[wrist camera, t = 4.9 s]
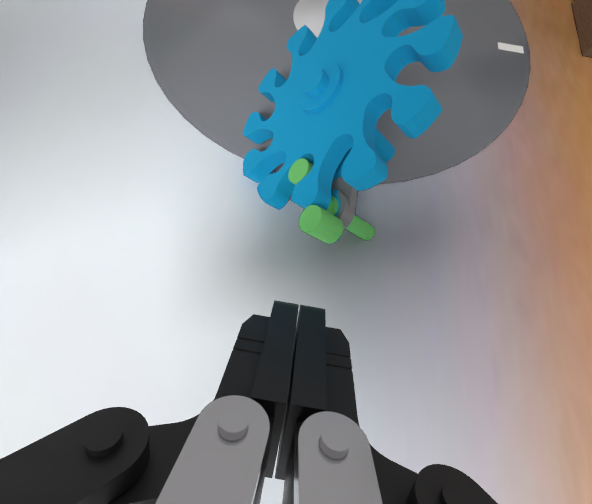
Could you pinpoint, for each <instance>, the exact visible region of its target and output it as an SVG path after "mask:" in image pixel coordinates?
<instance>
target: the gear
mask: <svg viewBox="0 0 592 504" xmlns="http://www.w3.org/2000/svg"><path fill="white" fill-rule="evenodd" d="M445 7H446V5H445V0H362V2H361V3H360V4H359V2H358V1H357V0H329V1H328V3H327V5H326V8H325V20H324V24H323V27H322V30H321V32H320V34H319V36H318V38H317V37H316V36H315V35H314V34H313V32H312V31H311V30H310V29H309V28H308V27H307V25H304V26H303V27H301V28H300V29H299V30H298V31H297V32H295V33H294V34H293V35H292V36H291V37H290V39H289V40H288V42H287V49H288V50H289V51H290V53H291V55H292V66H291V71H290V75H289V77H288V79H285V78H284V77H283V76H282V75H281V74H280V73H279V72H278V71H277V70H276V69H275V68H272V69H271V70H270V71H269V72H268V73H267V74H266V76H265V77H264V79H263V80H262V82H261V83H260V85H259V87H258V90H259V92H260V93H261V94H262V95H264V96H265V97H266V98H267V99H269V100H270V101H271V102H275V110H274V112H273V114H272V115H271V117H270V118H269V119H266V118H265V117H264V116H262V115H261V114H260V113H258V112H253V113H251V114H250V116H249V118H248V120H247V122H246V125H245V128H244V131H243V135H244V136H245V137H247V138H248V139H250V140H251V141H253V142H254V143H256V144H261V143H263V142H264V141H266V140H268V139H271V138H273V140H272V143H271V145H270V146H269V147H268V148H267V149H266V150H265V151H262V152H261V151H258V150H256V149H252V150H250V151H249V152H248V153H247V154H246V155H245V157H244V163H243V175H244V176H246V177H248V178H250V179H251V180H253V181H255V182H258V183H259V182H260V183H259V185H258V187H257V189H258V193H259V195H260V197H261V199H262V200H263V201H264V202H265V203H267V204H269V205H271V206H273V207H275V208H276V209H278V210H279V209H281V208H283V207H284V206H285V205H286V203H287V202H288V200H289V198H290V195H291V193H292V195H291V201H293V202H294V203H296V204H297V205H299V206H301V207H303V208H304V211H303V212H302V213H301V216H300V218H299V227H300V229H301V231H303V232H305V233H307V234H309V235H311V236H313V237H315V238H317V239H319V240H321V241H323V242H325V243H328V244H331V243H334V242H336V241H337V240H338V239H339V238H340V237H341V235H342V232H343V230H345V229H346V230H348V231H350V232H351V233H353V234H355V235H357V236H358V237H360V238H362V239H364V240H370V239H371V238H372V237H373V236H374V234H375V229H374V227H373V226H371V225H370V224H368V223H367V222H365V221H364V220H362V219H361V218H359V217H358V216H356V215H355V209H356V201H357V194H358V191H361V190H366V189H369V188H371V187H373V186H375V185H377V184H379V183H381V182H382V181H384V180H386V179H387V176H388V166H387V164H386V162H388V161H389V160H390V159H392V157H393V156H394V153H395V148H394V147H393V145H392V144H391V143H390V142H389V141H388V140H387V139H386V138H385V137H384V136H383V135H382V134H381V133H380V131H379V130H378V129H377V128H376V125H377V121H378V119H379V118H380V116H381V115H382V114H383V113H384V112H385V111H387V110H388V109H391V117H392V120H393V121H394V122H395V124H396V125H397V126H398V127H399V128H400V129H401V131H402V132H403V133H404V134H405V135H406V136H407V137H409V138H414V139H415V138H417V137H418V136H420V135H421V134H422V133H423V132H425V131H426V130H427V129H428V128H429V127H430V126H431V124H432V123H433V122H434V121H435V120H436V119H437V117H438V116H439V115H440V113H441V112H442V111H443V110H442V106H441V105H440V103H439V102H438V100H437V98H436V97H435V95H434V94H433V92H432V90H431V89H430V88H429V87H427V86H425V85H416V86H404V85H400V84H398V83H396V78H397V75H398V74H399V72H400V71H401V70H402V69H403V68H404V67H405V66H407V65H408V64H410V63H412V62H421V63H422V64H423V65H424V66H425V67H426V68H427V69H428V70H429V71H431V72H441V71H444V70H447V69H448V68H450V67H451V66H452V64H453V63H454V61H455V59H456V57H457V55H458V53H459V50H460V47H461V43H462V39H463V34H462V32H461V30H460V27H459V25H458V23H457V21H456V18H455V16H453V15H445V16H442V17H440V16H441V15H442V14H443V13H444V12H445ZM416 26H425V27H423V28H421V29H419V30H417V31H415V32H413V33H410V34H407V35H404V36H398V35H399V34H400V33H401V32H402V31H403V30H405V29H407V28H409V27H416ZM397 36H398V37H397ZM284 162H285V163H284ZM282 163H284V165H283V167H282V168H281V169H280V170H279V171H278V172H276V173H272V174H270V173H271V172H272V171H273V170H274V169H275V168H276V167H277V166H279V165H280V164H282ZM292 191H293V192H292Z"/></svg>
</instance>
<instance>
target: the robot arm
mask: <svg viewBox="0 0 592 504" xmlns="http://www.w3.org/2000/svg"><path fill="white" fill-rule="evenodd" d="M298 306H299V305H298V304H292V303H286V302H281V301H274V304H273V308H272V313H271V317H266V316H260V315H254V314H253V315H252V316H251V317H250V318H249V319H248V320H246V321H245V322H244V323H243V324H242V326H241V329H240V332H239V334H238V337H237V340H236V343H235V345H234V348H233V351H232V353H231V356H230V359H229V362H228V364H227V367H226V370H225V372H224V375H223V378H222V381H221V383H220V386H219V389H218V392H217V394H216V396H215V399H214V400H213V401H212V402H211V403H209V404H208V405H207V406H206V407H205V408H204V409H203V410H202V411H201V413H200V414H199V415H197V416H195V417H193V418H191V419H189V420H185V421H182V422H177V423H171V424H163V425H155V426H148V423H147V421H146V419H145V418H144V417H143V416H142V415H141V414H140V413H139V412H137V411H135V410H133V409H130V408H125V407H112V408H106V409H102V410H99V411H96V412H94V413H92V414H89V415H87V416H85V417H83V418H81V419H79V420H77V421H75V422H73V423H71V424H69V425H67V426H65V427H64V428H62V429H60V430H58V431H56V432H54V433H52V434H50V435H48V436H46V437H44V438H42V439H40V440H38V441H36V442H34V443H32V444H30V445H28V446H26V447H24V448H22V449H20V450H18V451H16V452H14V453H12V454H10V455H8V456H6V457H4V458H2V459H0V504H259V503H260V499H261V493H262V488H263V483H264V477H269V478H272V475H273V471H274V466H275V461H276V456H277V451H278V446H279V451H278V458H277V466H276V474H275V478H276V479H282V480H285V483H284V493H283V503H282V504H498V503H497V502H495V501H494V500H493V499H492V498H491V497H490V496H489V495H488V494H487V493H486V492H485V491H484V490H483V489H482V488H481V487H480V486H479V485H478V484H477V483H476V482H475V481H474V480H472V479H471V478H470V477H469V476H467V475H466V474H464V473H463V472H461V471H459V470H457V469H455V468H453V467H450V466H447V465H441V464H432V465H429V466H426V467H425V468H423V469H422V470H421V471H420V472H419V474H417V473H415V472H413V471H411V470H409V469H407V468H405V467H403V466H401V465H399V464H397V463H395V462H393V461H391V460H389V459H387V458H386V457H384V456H383V455H381V454H380V453H379V452H377V451H376V450H375V449H374V448H373V447H372V446H371V445H370V443H369V441H368V439H367V437H366V435H365V433H364V432H363V430H362V429H361V428H360V426H359V423H358V417H357V409H356V400H355V391H354V382H353V373H352V365H351V359H350V357H351V356H350V347H349V342H348V340H347V339H346V337H345V336H344V334H343V333H342V331H341V329H335V328H330V327H325V309H321V308H316V307H310V306H304V305H300V310H299V315H298ZM297 315H298V320H297ZM296 323H297V325H296ZM279 441H280V443H279Z"/></svg>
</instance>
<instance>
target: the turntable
mask: <svg viewBox="0 0 592 504" xmlns="http://www.w3.org/2000/svg"><path fill="white" fill-rule="evenodd" d="M328 1H329V0H148V1H147V3H146V9H145V14H144V20H143V40H144V45H145V50H146V54H147V59H148V62H149V64H150V67H151V69H152V71H153V74H154V76H155V79H156V81H157V82H158V84H159V86H160V87H161V89H162V90H163V92H164V94H165V95H166V97H167V98H168V100H169V101H170V102H171V103H172V104H173V106H174V107H175V108H176V109H177V110H178V111H179V112H180V114H181V115H182V116H183V117H184V118H185V119H186V120H187V121H188V122H190V123H191V124H192V125H193V126H194V127H195V128H196V129H198V130H199V131H200V132H201V133H202V134H203V135H205V136H206V137H208V138H209V139H211V140H212V141H214V142H215V143H217V144H218V145H220V146H222V147H223V148H225V149H226V150H228V151H230V152H232V153H234V154H236V155H238V156H240V157H242V158H244V157H245V155H246V154H247V153H248V152H249V151H250V150H252V149H256V150H258V151H261V152H262V151H265V150H266V149H267V148H268V147H269V146H270V145H271V143H272V140H273V138H271V139H268V140H266V141H264V142H263V143H261V144H256V143H254V142H253V141H251V140H250V139H248V138H247V137H245V136H244V135H243V131H244V128H245V125H246V122H247V120H248V118H249V116H250V114H251V113H253V112H258V113H260V114H261V115H262V116H264V117H265V118H266V119H269V118H270V117H271V115H272V114H273V112H274V110H275V102H271V101H270V100H269V99H267V98H266V97H265V96H264V95H262V94H261V93H260V92H259V90H258V87H259V85H260V83H261V82H262V80H263V79H264V77H265V76H266V74H267V73H268V72H269V71H270V70H271V69H272V68H275V69H276V70H277V71H278V72H279V73H280V74H281V75H282V76H283V77H284V78H285V79H288V77H289V75H290V71H291V66H292V55H291V53H290V51H289V50H288V49H287V42H288V40H289V39H290V37H291V36H292V35H293V34H294V33H295V32H297V31H298V30H299V29H300V28H301V27H303V26H304V25H307V27H308V28H309V29H310V30H311V31H312V32H313V34H314V35H315V36H316V37H317V38H318V36H319V34H320V32H321V30H322V27H323V24H324V20H325V8H326V5H327V3H328ZM357 1H358V2H359V4H360V3H361V2H362V0H357ZM445 5H446V7H445V12H444V13H443V14H442V15H441V16H440V17H442V16H445V15H453V16H455V18H456V21H457V23H458V25H459V27H460V30H461V32H462V34H463V39H462V43H461V47H460V50H459V53H458V55H457V57H456V59H455V61H454V63H453V64H452V66H451V67H450V68H448V69H447V70H444V71H441V72H431V71H429V70H428V69H427V68H426V67H425V66H424V65H423V64H422V63H421V62H412V63H410V64H408V65H407V66H405V67H404V68H403V69H402V70H401V71H400V72H399V74H398V75H397V78H396V83H398V84H400V85H404V86H416V85H425V86H427V87H429V88H430V89H431V90H432V92H433V94H434V95H435V97H436V98H437V100H438V102H439V103H440V105H441V106H442V110H443V111H442V112H441V113H440V115H439V116H438V117H437V119H436V120H435V121H434V122H433V123H432V124H431V126H430V127H429V128H428V129H427V130H426V131H425V132H423V133H422V134H421V135H420V136H418V137H417V138H415V139H414V138H409V137H407V136H406V135H405V134H404V133H403V132H402V131H401V129H400V128H399V127H398V126H397V125H396V124H395V122H394V121H393V120H392V117H391V109H388V110H387V111H385V112H384V113H383V114H382V115H381V116H380V118H379V119H378V121H377V125H376V128H377V129H378V130H379V131H380V133H381V134H382V135H383V136H384V137H385V138H386V139H387V140H388V141H389V142H390V143H391V144H392V145H393V147H394V148H395V153H394V156H393V157H392V159H390V160H389V161H388V162H386V164H387V166H388V176H387V179H386V180H384V181H382V182H381V183H379V184H385V183H394V182H403V181H408V180H412V179H416V178H420V177H424V176H428V175H432V174H435V173H438V172H440V171H443V170H445V169H448V168H450V167H453V166H455V165H458V164H460V163H461V162H463V161H465V160H467V159H468V158H470V157H472V156H474V155H475V154H477V153H479V152H480V151H481V150H482V149H484V148H485V147H486V146H487V145H489V144H490V143H491V142H492V141H494V140H495V139H496V138H497V137H498V136H499V135H500V134H501V133H502V131H503V130H504V129H505V128H506V127H507V126H508V125H509V123H510V122H511V121H512V119H513V118H514V116H515V114H516V113H517V111H518V109H519V108H520V106H521V104H522V101H523V98H524V96H525V93H526V90H527V87H528V81H529V74H530V51H529V47H528V42H527V38H526V33H525V31H524V28H523V26H522V23H521V21H520V18H519V16H518V14H517V13H516V11H515V9H514V8H513V6H512V4H511V2H510V1H509V0H445ZM423 27H425V26H416V27H409V28H407V29H405V30H403V31H402V32H401V33H400V34H399V35H398V36H404V35H407V34H410V33H413V32H415V31H417V30H419V29H421V28H423ZM398 36H397V37H398ZM284 163H285V162H284ZM284 163H282V164H280V165H279V166H277V167H276V168H275V169H274V171H276V172H278V171H279V170H280V169H281V168H282V167H283V165H284Z"/></svg>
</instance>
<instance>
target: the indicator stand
mask: <svg viewBox="0 0 592 504" xmlns="http://www.w3.org/2000/svg"><path fill="white" fill-rule="evenodd" d="M572 8H573V13H574V17H575V22H576V27H577V31H578V36H579V41H580V45H581V50H582V55H583V56H588V57H592V0H575V1H574V2H573V3H572Z"/></svg>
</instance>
